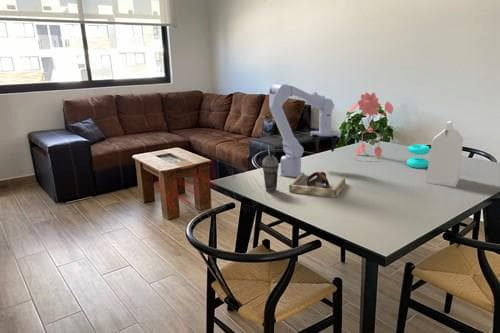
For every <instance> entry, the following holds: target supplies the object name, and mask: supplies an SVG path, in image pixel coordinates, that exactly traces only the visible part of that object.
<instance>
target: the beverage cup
mask: <svg viewBox="0 0 500 333" xmlns="http://www.w3.org/2000/svg"><path fill="white" fill-rule="evenodd" d="M267 151H268V155H267V156H265V157H264V158H263V160H262V162H261V163H262V164H261V168H262V171H263V178H264V187H265V192H267V193H276V192H277V188H278V174H279V166H280V164H279V160H278V158H276V157H275V156H274V155H271V152H270V145H269V144H268V145H267ZM275 191H276V192H275Z"/></svg>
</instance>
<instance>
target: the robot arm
mask: <svg viewBox="0 0 500 333" xmlns="http://www.w3.org/2000/svg"><path fill="white" fill-rule="evenodd" d="M268 96H269V99H268V100H269V101H268V108H269V110H270V112H271V115H272V117H273V119H274V121H275V123H276V126H277V130H279V131H278V132H279V134H280V135H281V137H282V145H283V146H282V150H283V152H284V153H285V155H282V156H281V158H280V164H279V165H280V174H279V175H280V176H283V177H284V176H285V177H291V178H292V177H293V178H297V177H298V176H299V175H300V174H301V173H304V172H305V171H303V170H302V156H303V153H304V151H305V150H304V147H303V146H302V145H301V144H300V143H299V140H298V139H297V138H296V137H295V136H294V133H293V131H292V130H293V129H291V125H290V123H289V121H288V119H287V117H286V116H287V115H286V114H285V112H284V109H283V105H284V104H285V103H286V101H287V100H288V99H289V98H290V97H293V96H295V97H297V98H300V99H302V100H305V102H306V103H307V105H310V106H312V107H314V108H317V109H318V110H319V115H318V116H319V120H318V121H319V123H318V124H319V125H318V127H319V128H318V130H315V131H313V130H311V131H310V132H309V134H310V137H311V139H312V142H313V144H314V146H315V147H314V148H315V151H319V140H320V139H319V138H320V137H329V138H330V137H331V138H330V140H331V152H334V151H335V146H336V145H337V144H336V143H337V142H338V139H339V138H341V135H342V134H341V132H340V131H339V132H337V131H332V113H333V109H335V104H334V102H333V101H334V100H332V99H331V98H328V97H327V98H326V96H324V95H320V94H319V93H318V92H316V91H311V92H307V91H304V90H303V89H300V88H298V87H296V86H293V85H289V84H286V83H285V84H283V83H282V84H281V83H278V82H277V83H276V82H275V83H273V84H272V85H271V86H270V89H269V91H268Z"/></svg>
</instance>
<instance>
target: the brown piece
mask: <svg viewBox="0 0 500 333" xmlns="http://www.w3.org/2000/svg"><path fill="white" fill-rule="evenodd" d="M305 183H306V185H305V186H309V187H316V185H317V184H316V183H318V184H321V185H324V184H325V187H326V188H327V189H331V185H330V183H329V179H328V178H327V173H325V171H320V172H319V171H315V172H312V173H311V174H310V175H308V176H307V178H306V179H305Z"/></svg>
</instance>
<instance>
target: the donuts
mask: <svg viewBox="0 0 500 333" xmlns="http://www.w3.org/2000/svg"><path fill="white" fill-rule="evenodd" d="M407 150H408V152H409V153H410V154H413V155H416V157H415V156H414V157H410V158H408V159H407V160H406V164H407V166H409V167H412V168H415V169H424V168H428V164H429V159H426V158H424V157H418V156H417V155H419V156H424V155H427V154H430V150H431V147H430V146H428V145H426V144H418V143H417V144H410V145H409V146H408V147H407Z"/></svg>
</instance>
